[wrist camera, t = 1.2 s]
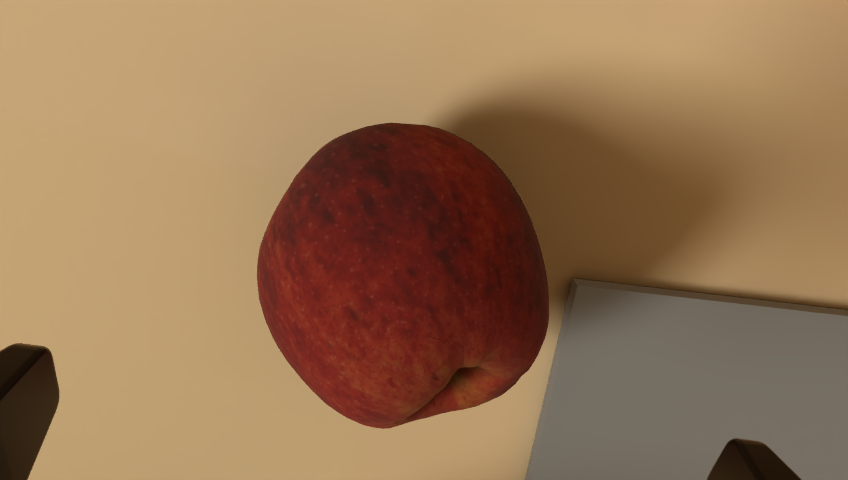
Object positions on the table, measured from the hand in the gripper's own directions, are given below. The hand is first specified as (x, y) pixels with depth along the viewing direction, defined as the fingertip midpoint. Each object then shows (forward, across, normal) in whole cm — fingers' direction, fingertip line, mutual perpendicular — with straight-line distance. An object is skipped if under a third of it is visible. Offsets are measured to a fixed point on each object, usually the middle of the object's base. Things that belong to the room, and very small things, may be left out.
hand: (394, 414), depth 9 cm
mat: (+11, -13, +13) cm, 21 cm away
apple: (+12, 0, +5) cm, 13 cm away
